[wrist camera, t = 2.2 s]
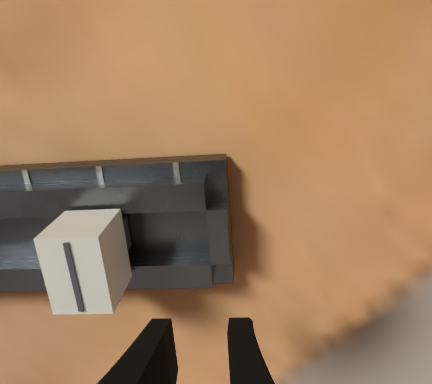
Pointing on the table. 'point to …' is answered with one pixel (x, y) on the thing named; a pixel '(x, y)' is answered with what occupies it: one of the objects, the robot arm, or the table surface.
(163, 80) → the table surface
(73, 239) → the fader knob
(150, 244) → the console
